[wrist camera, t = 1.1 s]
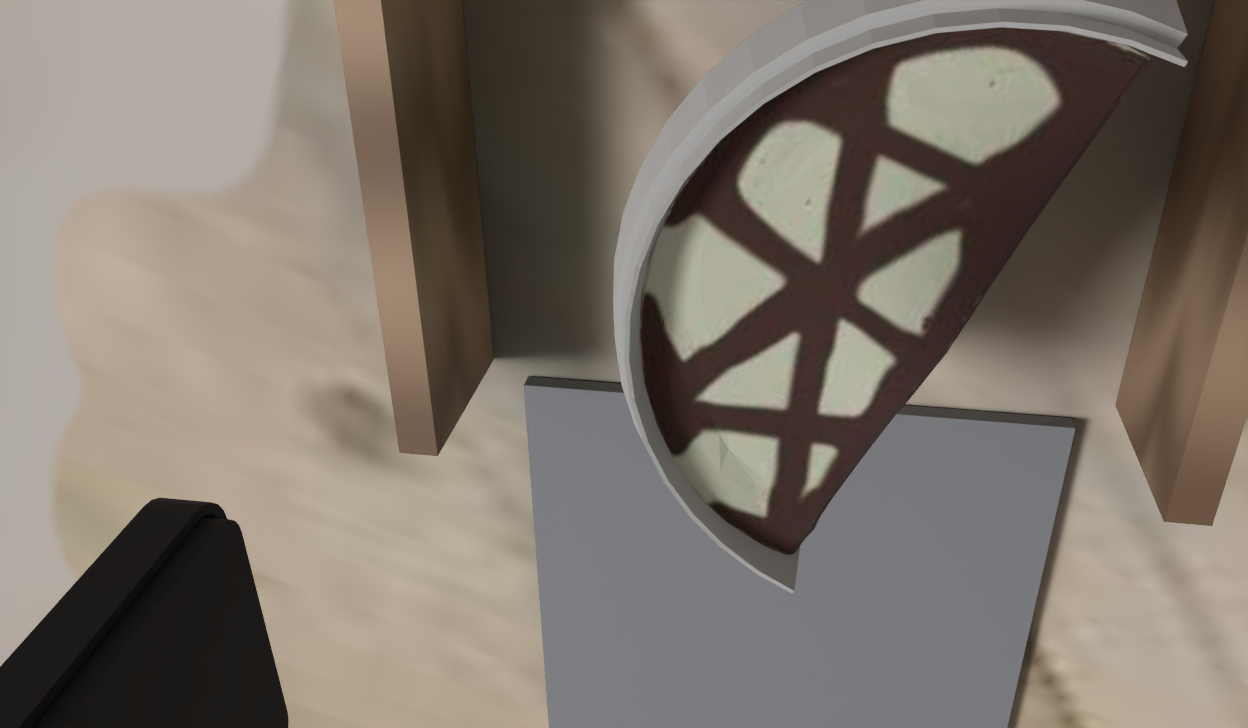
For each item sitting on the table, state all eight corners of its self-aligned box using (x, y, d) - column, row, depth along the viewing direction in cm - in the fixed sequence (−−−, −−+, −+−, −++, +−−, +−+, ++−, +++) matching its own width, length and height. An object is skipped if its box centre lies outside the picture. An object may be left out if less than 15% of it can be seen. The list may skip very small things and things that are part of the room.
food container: (822, -209, 23) (808, -188, 14) (1076, -75, 23) (1215, 26, 14) (595, 262, 29) (490, 476, 20) (798, 361, 29) (779, 612, 21)
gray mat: (992, 774, 35) (993, 786, 35) (552, 717, 38) (549, 728, 37) (1071, 417, 29) (1075, 428, 28) (528, 376, 31) (524, 384, 31)
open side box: (1155, 408, 28) (1211, 525, 24) (460, 356, 31) (399, 452, 27) (1349, -314, 20) (1485, -332, 16) (392, -288, 23) (290, -297, 19)
